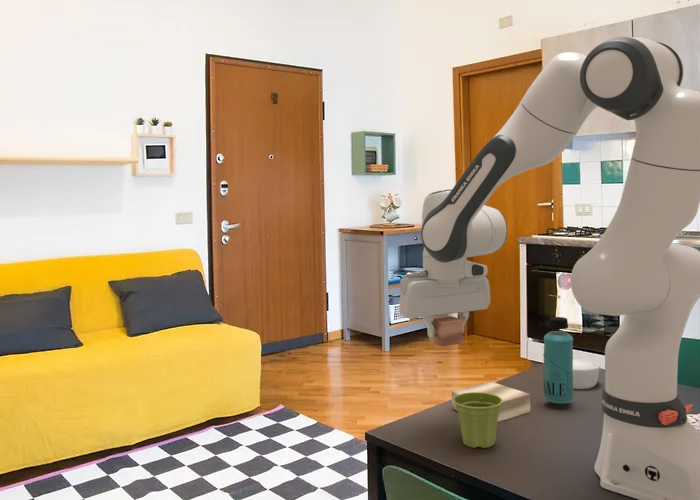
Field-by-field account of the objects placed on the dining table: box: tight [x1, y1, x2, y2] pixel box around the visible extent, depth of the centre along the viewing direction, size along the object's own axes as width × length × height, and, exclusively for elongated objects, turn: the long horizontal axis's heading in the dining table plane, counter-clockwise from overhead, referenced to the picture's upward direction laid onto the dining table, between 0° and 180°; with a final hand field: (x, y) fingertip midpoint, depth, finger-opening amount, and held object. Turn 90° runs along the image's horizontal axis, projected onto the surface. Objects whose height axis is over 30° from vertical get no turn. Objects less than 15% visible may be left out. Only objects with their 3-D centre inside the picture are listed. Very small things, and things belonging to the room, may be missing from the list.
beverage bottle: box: [542, 316, 574, 404], centre depth 144 cm, size 6×7×20 cm
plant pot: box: [453, 392, 503, 449], centre depth 125 cm, size 9×9×9 cm
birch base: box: [451, 381, 531, 423], centre depth 143 cm, size 12×12×4 cm
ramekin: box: [573, 357, 601, 390], centre depth 160 cm, size 11×11×5 cm
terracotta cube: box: [428, 315, 464, 347], centre depth 135 cm, size 5×5×5 cm
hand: (446, 334), depth 135 cm, fingers closed on terracotta cube, 5 cm apart
